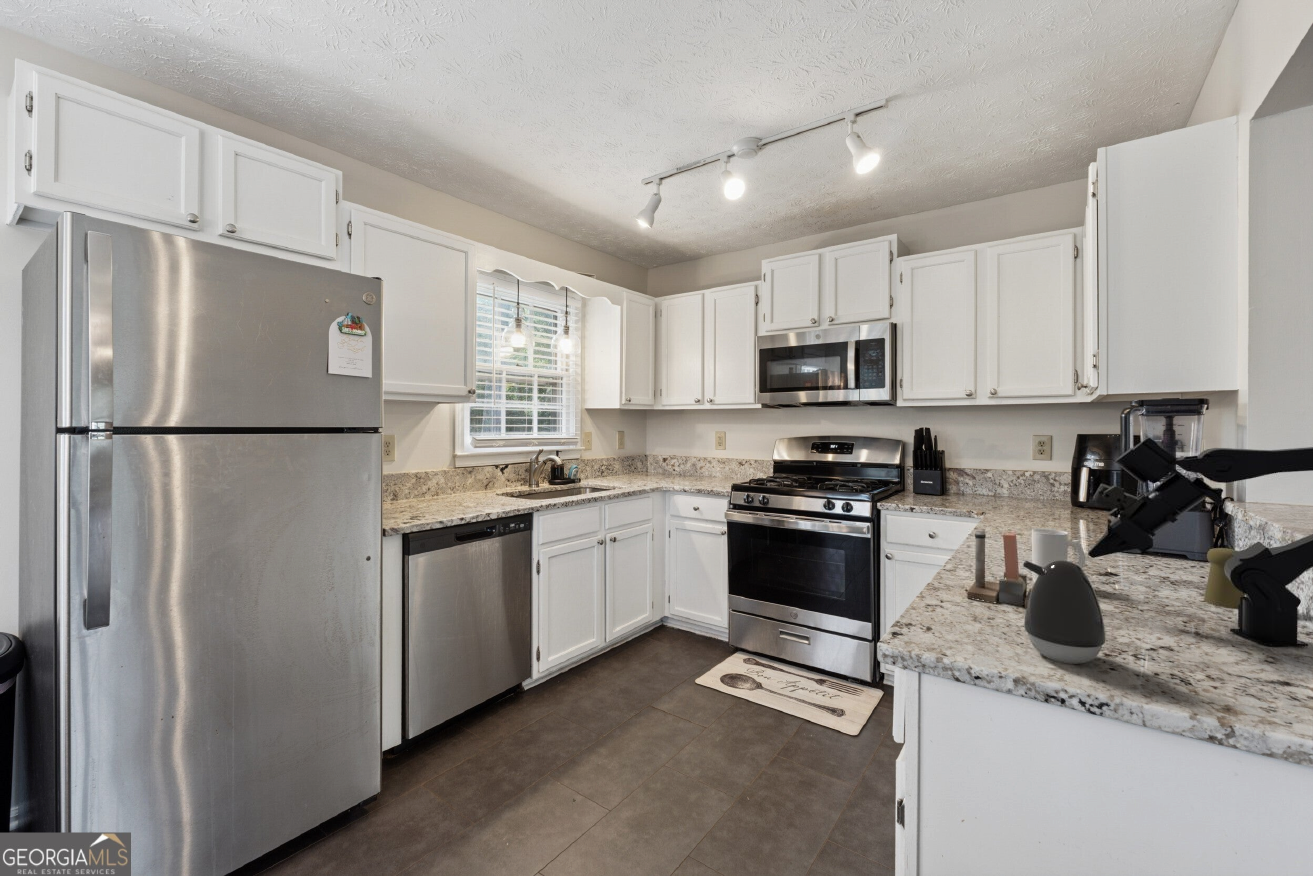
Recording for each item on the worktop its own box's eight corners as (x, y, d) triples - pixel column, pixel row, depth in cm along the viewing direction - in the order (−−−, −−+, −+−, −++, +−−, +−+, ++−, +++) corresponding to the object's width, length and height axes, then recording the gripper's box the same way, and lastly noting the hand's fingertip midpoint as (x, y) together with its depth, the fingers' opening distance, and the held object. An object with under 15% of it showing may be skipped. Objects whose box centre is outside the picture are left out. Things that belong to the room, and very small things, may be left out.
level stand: (1059, 599, 115) (1059, 534, 114) (1055, 613, 106) (1056, 543, 106) (976, 586, 124) (976, 526, 124) (967, 598, 115) (967, 534, 115)
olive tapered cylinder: (1227, 599, 113) (1227, 545, 113) (1256, 609, 107) (1257, 552, 107) (1195, 598, 114) (1195, 545, 114) (1222, 608, 108) (1222, 552, 108)
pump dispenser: (1026, 639, 94) (1026, 550, 93) (1105, 654, 87) (1106, 559, 87) (1018, 659, 86) (1019, 562, 86) (1104, 677, 79) (1105, 572, 79)
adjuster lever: (1026, 595, 115) (1022, 533, 115) (1024, 600, 112) (1019, 536, 112) (1003, 593, 118) (999, 532, 118) (1001, 597, 115) (997, 535, 115)
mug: (1025, 583, 126) (1026, 530, 126) (1039, 578, 130) (1039, 527, 129) (1078, 594, 118) (1078, 538, 117) (1090, 588, 121) (1091, 534, 121)
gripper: (1122, 466, 111) (1056, 517, 118) (1126, 473, 96) (1049, 531, 103) (1177, 508, 106) (1104, 558, 113) (1189, 522, 91) (1105, 579, 98)
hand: (1090, 555), depth 107 cm, fingers closed
